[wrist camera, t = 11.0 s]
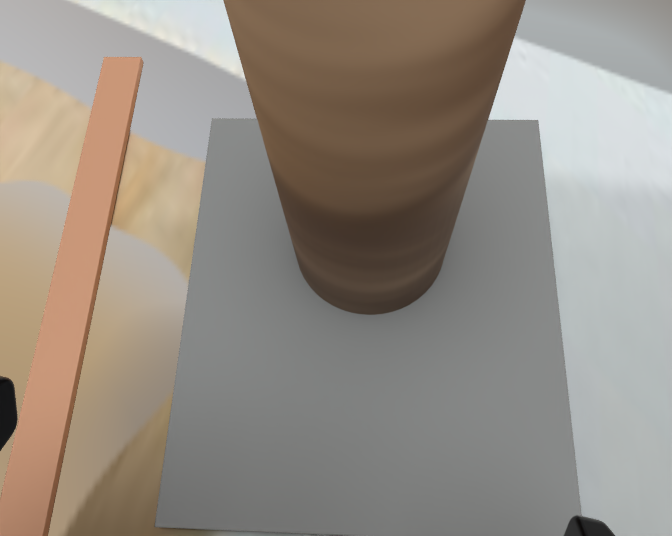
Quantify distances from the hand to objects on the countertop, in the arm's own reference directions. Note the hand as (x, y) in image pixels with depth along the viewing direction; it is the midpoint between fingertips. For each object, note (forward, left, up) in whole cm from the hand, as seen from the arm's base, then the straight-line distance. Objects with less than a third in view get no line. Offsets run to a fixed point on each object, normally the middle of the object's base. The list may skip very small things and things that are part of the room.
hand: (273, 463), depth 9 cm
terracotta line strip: (+6, +8, -9) cm, 13 cm away
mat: (+6, -2, -9) cm, 11 cm away
